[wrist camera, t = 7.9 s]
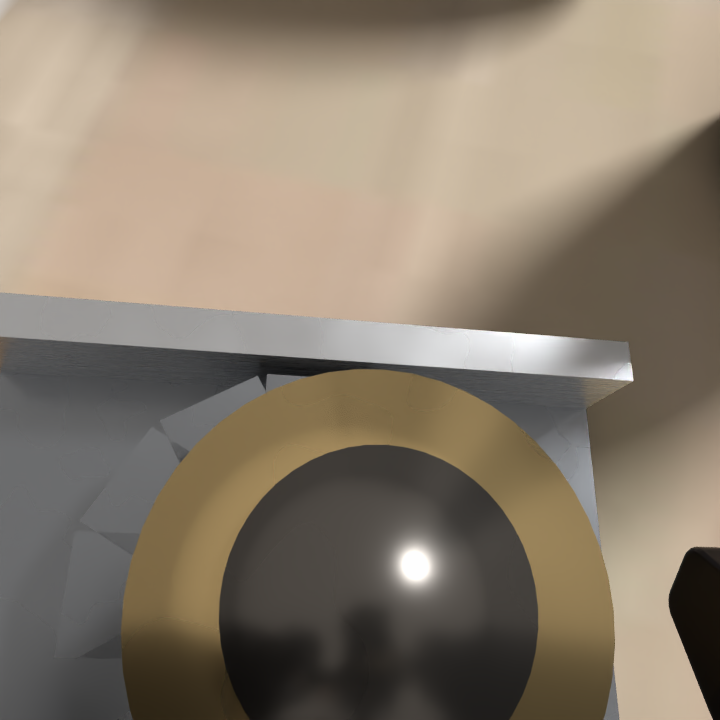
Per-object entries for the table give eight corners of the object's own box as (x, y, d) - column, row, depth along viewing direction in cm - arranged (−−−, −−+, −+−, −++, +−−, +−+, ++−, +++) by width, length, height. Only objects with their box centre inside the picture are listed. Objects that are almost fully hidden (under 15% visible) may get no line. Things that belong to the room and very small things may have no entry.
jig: (628, 1026, 14) (736, 1147, 11) (-134, 1083, 12) (-270, 1252, 9) (566, 384, 19) (628, 341, 16) (22, 347, 17) (-30, 289, 14)
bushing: (424, 661, 15) (711, 761, 6) (237, 744, 14) (207, 1043, 5) (356, 479, 16) (500, 312, 7) (180, 543, 15) (62, 447, 6)
